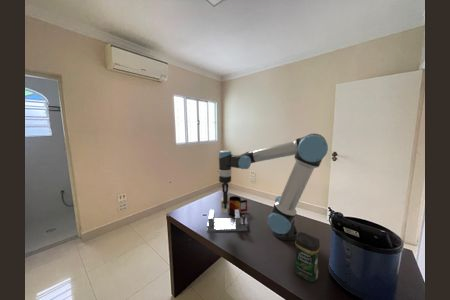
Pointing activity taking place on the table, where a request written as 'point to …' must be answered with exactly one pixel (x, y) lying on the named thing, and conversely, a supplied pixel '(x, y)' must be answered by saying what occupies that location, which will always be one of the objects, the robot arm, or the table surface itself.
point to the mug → (236, 205)
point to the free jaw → (240, 220)
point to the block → (222, 204)
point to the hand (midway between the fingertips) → (225, 209)
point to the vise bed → (222, 224)
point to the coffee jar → (307, 256)
